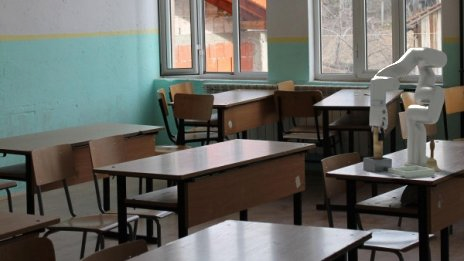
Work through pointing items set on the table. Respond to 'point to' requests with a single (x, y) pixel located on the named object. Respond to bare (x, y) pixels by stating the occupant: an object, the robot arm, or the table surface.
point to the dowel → (377, 145)
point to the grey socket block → (377, 164)
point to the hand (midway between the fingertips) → (378, 139)
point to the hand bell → (432, 158)
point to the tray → (408, 172)
